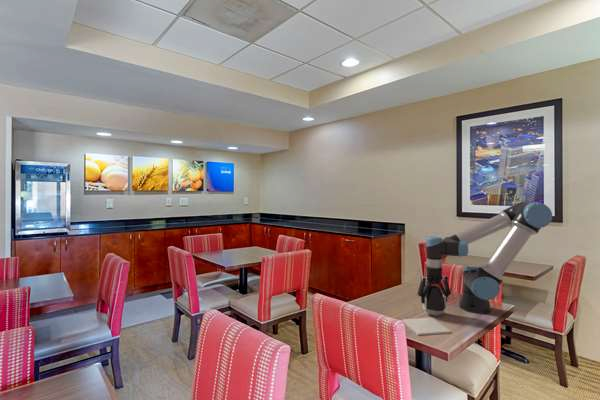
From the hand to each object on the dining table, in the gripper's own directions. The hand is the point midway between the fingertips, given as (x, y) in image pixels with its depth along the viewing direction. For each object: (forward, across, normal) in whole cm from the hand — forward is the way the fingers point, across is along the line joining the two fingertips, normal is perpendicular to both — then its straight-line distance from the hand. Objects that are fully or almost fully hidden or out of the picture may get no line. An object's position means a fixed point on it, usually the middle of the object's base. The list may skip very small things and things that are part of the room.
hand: (434, 308), depth 166 cm
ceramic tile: (+3, +13, +14) cm, 19 cm away
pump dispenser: (+3, 0, 0) cm, 3 cm away
